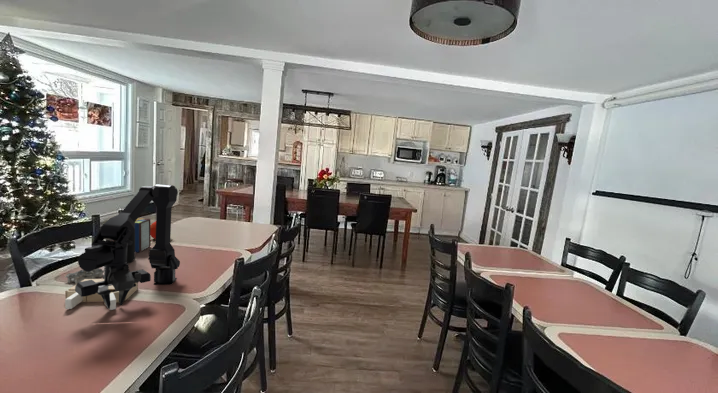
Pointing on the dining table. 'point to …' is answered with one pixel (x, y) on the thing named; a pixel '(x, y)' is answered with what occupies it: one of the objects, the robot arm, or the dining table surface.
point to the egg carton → (84, 275)
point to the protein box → (142, 234)
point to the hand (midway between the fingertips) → (114, 306)
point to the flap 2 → (114, 299)
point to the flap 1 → (73, 299)
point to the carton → (98, 297)
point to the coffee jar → (130, 248)
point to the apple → (153, 230)
